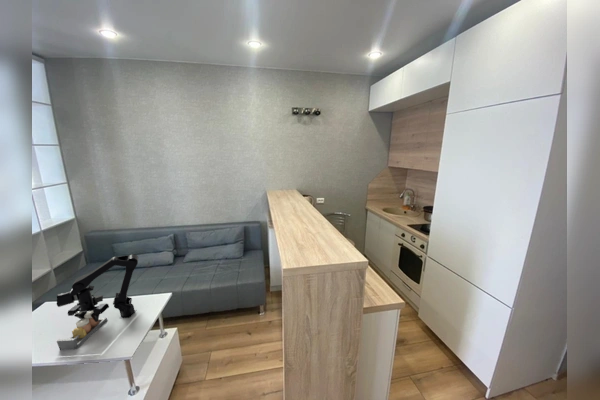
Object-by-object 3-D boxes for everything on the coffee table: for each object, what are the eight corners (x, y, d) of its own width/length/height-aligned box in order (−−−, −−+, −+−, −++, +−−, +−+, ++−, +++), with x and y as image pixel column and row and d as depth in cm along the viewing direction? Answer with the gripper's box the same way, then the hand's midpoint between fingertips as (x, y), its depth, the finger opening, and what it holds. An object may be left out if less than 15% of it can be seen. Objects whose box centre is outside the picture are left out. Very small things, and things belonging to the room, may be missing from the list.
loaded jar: (94, 329, 129) (91, 317, 127) (86, 336, 124) (82, 324, 122) (85, 329, 128) (81, 317, 127) (77, 337, 123) (73, 325, 121)
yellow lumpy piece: (76, 336, 123) (73, 327, 122) (87, 336, 123) (84, 327, 122) (69, 342, 120) (66, 333, 118) (81, 341, 120) (78, 332, 119)
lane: (93, 321, 135) (90, 312, 134) (107, 320, 135) (105, 311, 134) (60, 350, 116) (56, 341, 114) (76, 349, 116) (73, 340, 115)
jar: (101, 321, 133) (98, 309, 131) (94, 328, 128) (90, 316, 126) (93, 321, 133) (89, 310, 131) (85, 328, 128) (81, 316, 126)
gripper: (113, 288, 134) (119, 310, 138) (81, 290, 134) (88, 312, 138) (97, 301, 124) (104, 324, 127) (63, 303, 123) (71, 326, 127)
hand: (92, 321), depth 130 cm, fingers closed on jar, 5 cm apart
